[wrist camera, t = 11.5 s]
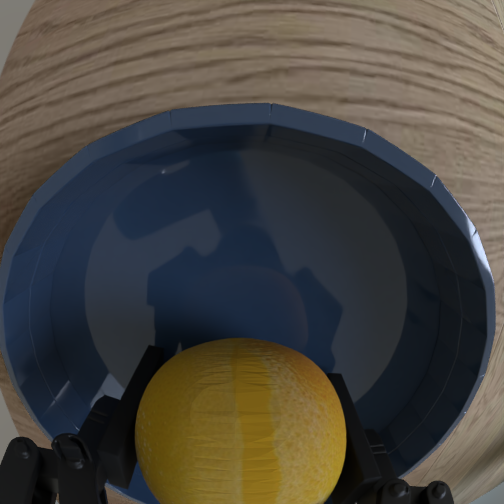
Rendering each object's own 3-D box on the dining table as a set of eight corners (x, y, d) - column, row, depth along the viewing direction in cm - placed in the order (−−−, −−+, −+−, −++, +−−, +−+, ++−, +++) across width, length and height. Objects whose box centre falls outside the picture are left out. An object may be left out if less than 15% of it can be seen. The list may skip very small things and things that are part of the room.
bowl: (80, 435, 17) (59, 477, 12) (59, 113, 11) (-8, 100, 6) (353, 474, 18) (365, 518, 13) (484, 203, 12) (548, 220, 7)
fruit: (330, 417, 14) (363, 533, 7) (198, 439, 15) (181, 550, 7) (308, 283, 12) (378, 431, 4) (135, 321, 13) (51, 451, 5)
